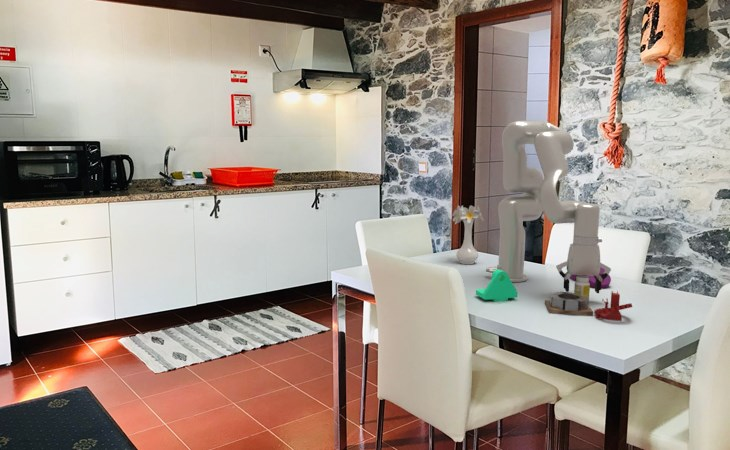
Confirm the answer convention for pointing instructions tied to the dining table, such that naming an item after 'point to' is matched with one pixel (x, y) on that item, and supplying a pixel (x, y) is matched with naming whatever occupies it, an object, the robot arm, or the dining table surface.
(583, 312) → the block
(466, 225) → the flower vase
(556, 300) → the hub
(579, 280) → the supplement bottle
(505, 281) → the camera mount
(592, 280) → the mounting bracket
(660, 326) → the dining table surface
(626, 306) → the red toothed piece
